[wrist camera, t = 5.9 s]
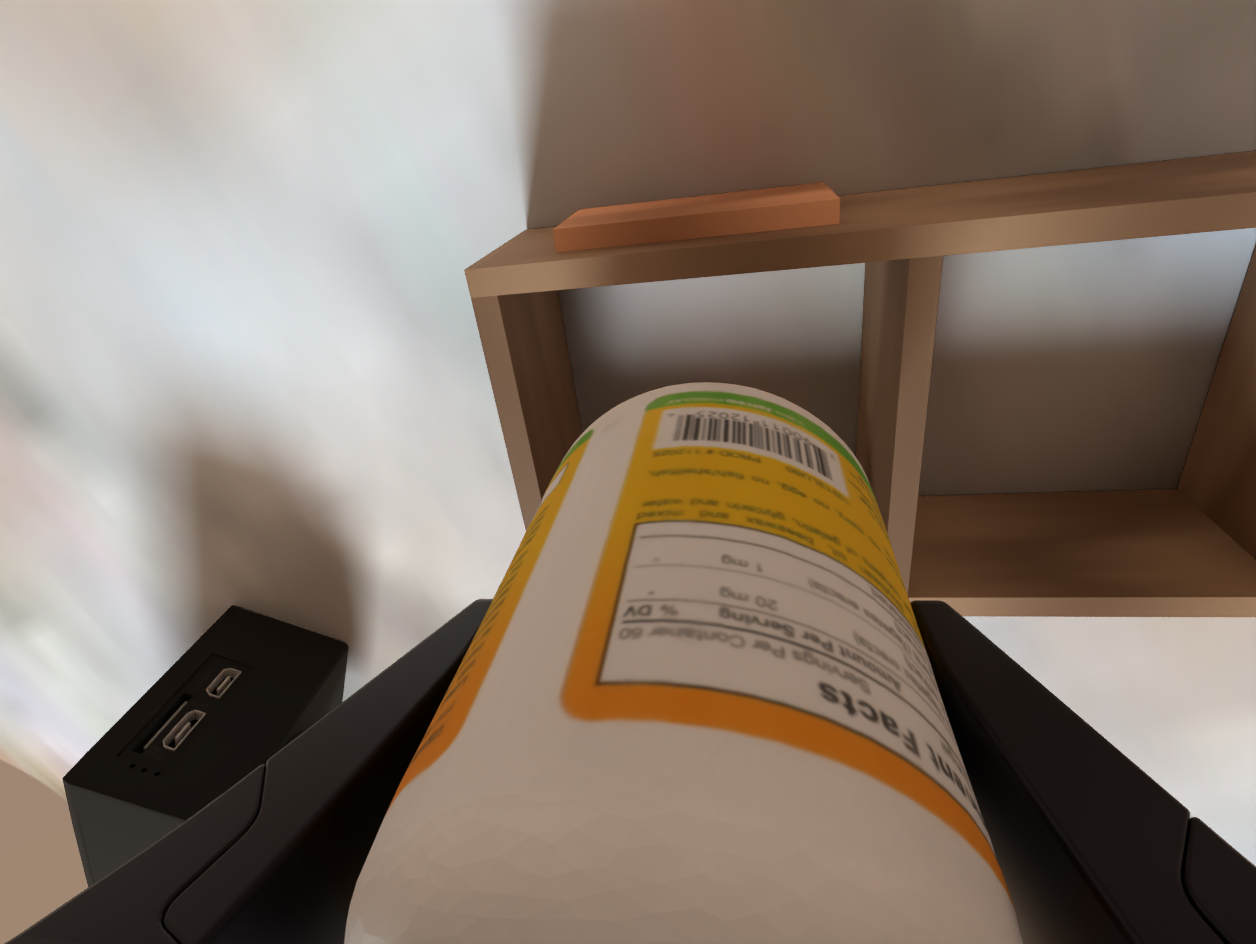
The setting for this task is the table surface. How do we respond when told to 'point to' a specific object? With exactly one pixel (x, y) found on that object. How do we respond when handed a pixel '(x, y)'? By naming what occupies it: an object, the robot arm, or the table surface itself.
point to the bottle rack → (925, 372)
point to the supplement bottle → (692, 714)
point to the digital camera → (200, 733)
